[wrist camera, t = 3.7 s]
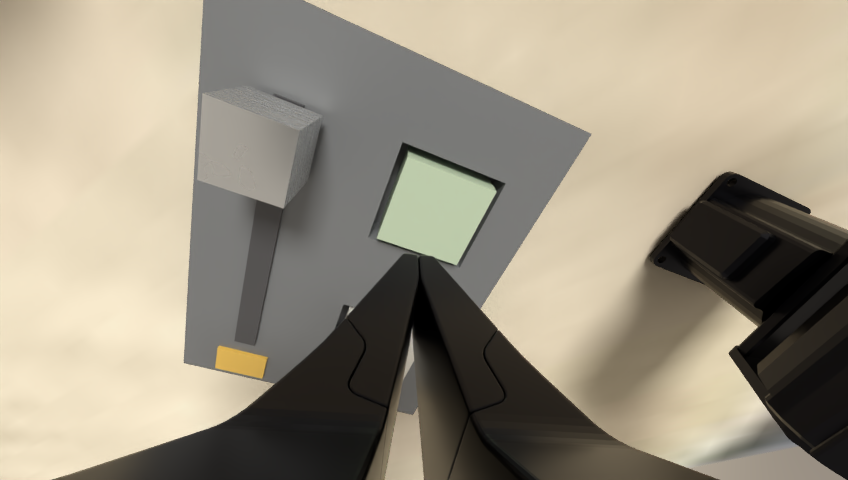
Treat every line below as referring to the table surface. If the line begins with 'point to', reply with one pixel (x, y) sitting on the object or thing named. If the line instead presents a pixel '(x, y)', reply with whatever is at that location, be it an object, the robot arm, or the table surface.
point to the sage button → (435, 206)
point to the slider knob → (256, 144)
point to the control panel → (346, 182)
